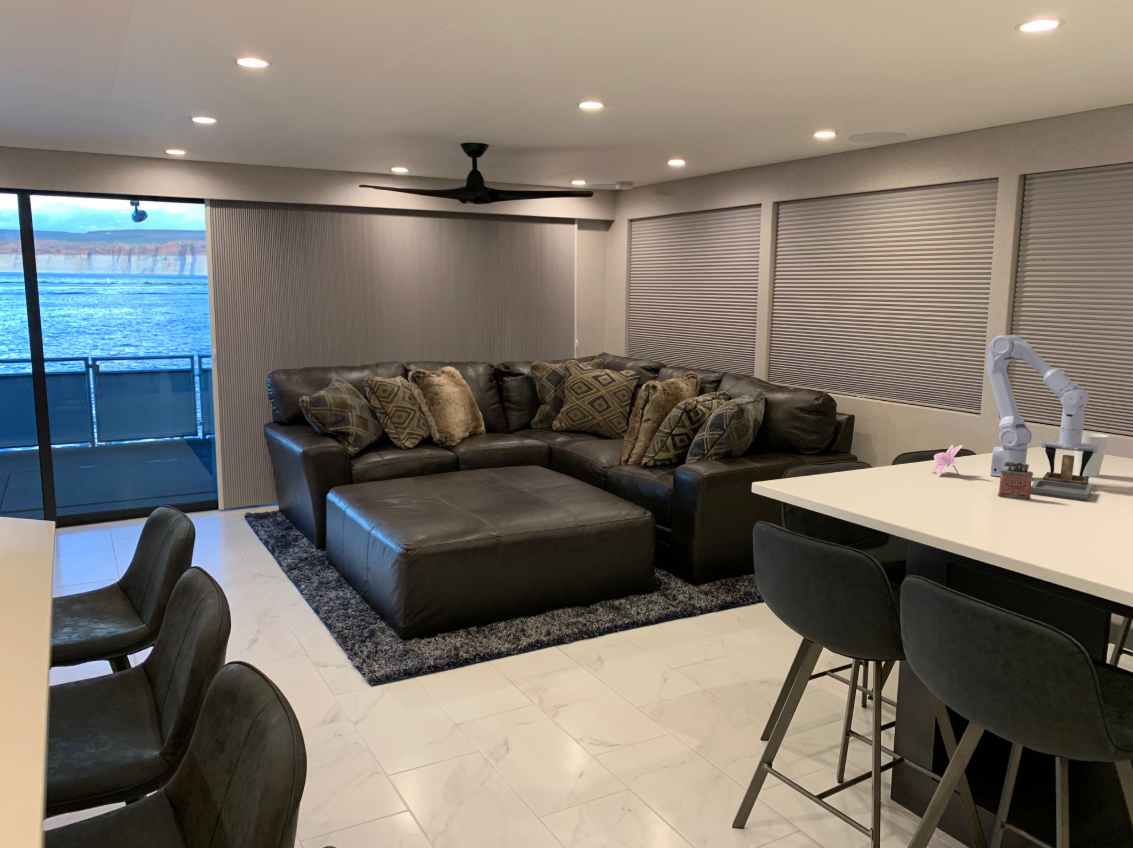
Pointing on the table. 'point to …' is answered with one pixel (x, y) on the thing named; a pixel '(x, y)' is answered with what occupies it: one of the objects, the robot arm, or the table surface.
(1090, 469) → the foam cup
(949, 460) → the lily
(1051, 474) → the holder
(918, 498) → the table surface
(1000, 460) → the robot arm
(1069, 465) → the pin
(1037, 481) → the tray
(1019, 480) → the lighter
